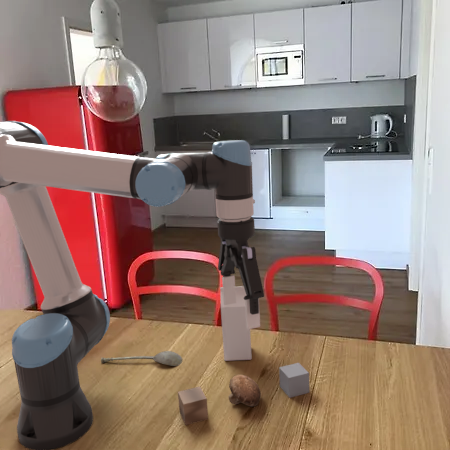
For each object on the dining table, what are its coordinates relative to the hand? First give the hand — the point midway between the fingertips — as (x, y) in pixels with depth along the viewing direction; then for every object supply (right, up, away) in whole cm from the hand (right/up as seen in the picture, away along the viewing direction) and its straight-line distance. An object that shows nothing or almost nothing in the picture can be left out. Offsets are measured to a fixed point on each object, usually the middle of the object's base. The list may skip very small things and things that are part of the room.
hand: (240, 314), depth 104 cm
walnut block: (-10, -22, +1) cm, 24 cm away
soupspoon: (-25, -17, +25) cm, 40 cm away
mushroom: (+1, -20, +4) cm, 21 cm away
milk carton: (0, -15, +26) cm, 30 cm away
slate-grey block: (+13, -19, +8) cm, 24 cm away
